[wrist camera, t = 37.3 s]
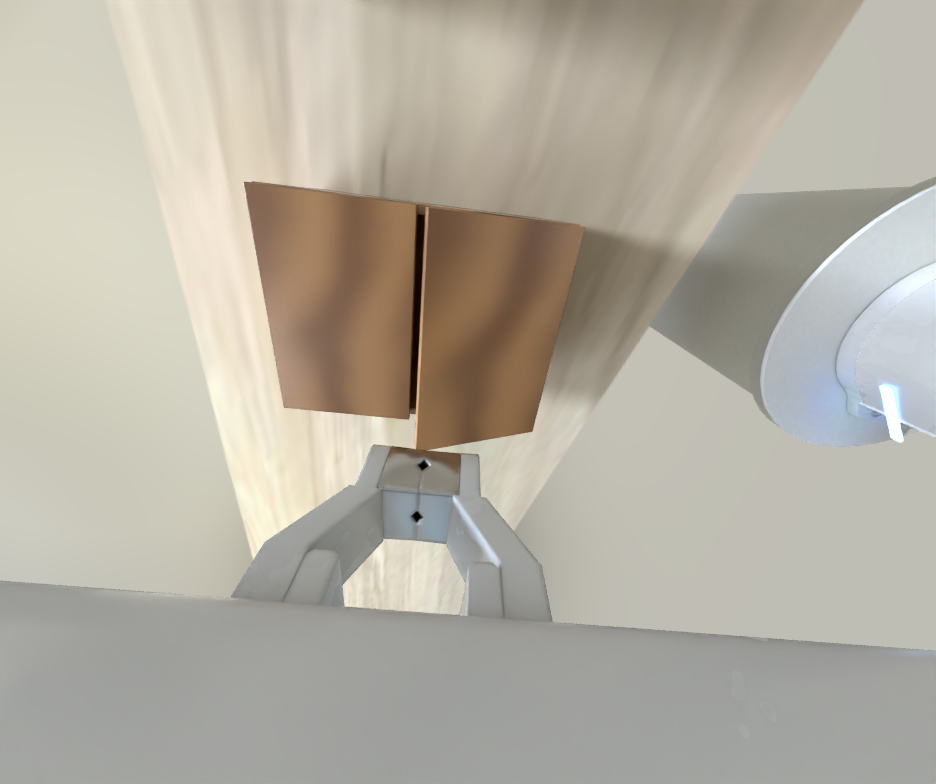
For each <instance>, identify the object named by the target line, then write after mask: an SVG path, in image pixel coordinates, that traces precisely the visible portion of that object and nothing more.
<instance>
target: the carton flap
mask: <svg viewBox="0 0 936 784" xmlns="http://www.w3.org/2000/svg"><path fill="white" fill-rule="evenodd" d="M584 229H585V227H582V226H575V225H567V224H559V223H551V222H543V221H535V220H527V219H519V218H511V217H503V216H495V215H487V214H479V213H472V212H464V211H456V210H448V209H440V208H432V207H426V211H425V232H424V253H423V274H422V295H421V316H420V337H419V358H418V378H417V399H416V420H415V441H414V449H419V450H430V449H436V448H442V447H448V446H453V445H459V444H465V443H470V442H476V441H482V440H487V439H493V438H499V437H504V436H510V435H516V434H522V433H527V432H532V431H533V427H534V423H535V419H536V415H537V411H538V407H539V403H540V400H541V396H542V392H543V388H544V384H545V380H546V376H547V372H548V369H549V365H550V361H551V357H552V353H553V349H554V345H555V342H556V338H557V334H558V330H559V326H560V322H561V318H562V314H563V311H564V307H565V303H566V299H567V295H568V291H569V287H570V283H571V280H572V276H573V272H574V268H575V264H576V260H577V256H578V252H579V249H580V245H581V241H582V237H583V233H584Z"/></svg>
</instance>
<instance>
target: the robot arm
mask: <svg viewBox="0 0 936 784" xmlns="http://www.w3.org/2000/svg"><path fill="white" fill-rule="evenodd" d="M836 374H837V378H838V381H839V383H840V384H841V386H842V387H843V388H844V390H845V391H846V393H847V412H848V414H849V415H852V416H854V417H856V418H859V419H877V418H887V422H888V427H889V432H890V436H891V438H893V439H894V440H896V441H898V442H902V441H903V437H902V432H901V427H900V422H901V423H903V424H906V425H908V426H910V427H912V428H915V429H917V430H919V431H922V432H924V433H926V434H928V435H931V436H933V437H935V438H936V262H935V263H932V264H930V265H927V266H925V267H923V268H921V269H919V270H917V271H915V272H913V273H912V274H910V275H908V276H906V277H905V278H903V279H901V280H900V281H898V282H897V283H896V284H894V285H893V286H891V287H890V288H889V289H887V290H886V291H885V292H884V293H882V294H881V295H880V296H879V297H878V298H876V299H875V300H874V301H873V302H872V303H871V304H870V305H869V306H868V307H867V308H866V309H865V310H864V311H863V312H862V314H861V315H860V316H859V317H858V318H857V320H856V321H855V322H854V323H853V325H852V326H851V328H850V329H849V331H848V332H847V334H846V336H845V338H844V339H843V341H842V344H841V346H840V349H839V351H838V355H837V360H836ZM383 539H400V540H416V541H425V542H434V543H443V544H447V547H448V549H449V551H450V553H451V555H452V557H453V559H454V561H455V563H456V565H457V567H458V569H459V571H460V573H461V575H462V577H463V579H464V581H465V583H466V584H465V589H464V594H463V599H462V604H461V610H460V615H450V614H436V613H423V612H409V611H396V610H383V609H369V608H356V607H345V606H344V597H343V588H342V585H343V584H344V583H345V582H346V580H347V579H348V578H349V577H350V576H351V575H352V574H353V573H354V572H355V571H356V570H357V569H358V567H359V566H360V565H361V564H362V563H363V562H364V561H365V560H366V559H367V558H368V557H369V556H370V554H371V553H372V552H373V551H374V550H375V549H376V548H377V547H378V546H379V545H380V544H381V543H382V541H383ZM0 784H936V651H933V650H920V649H906V648H893V647H880V646H866V645H851V644H839V643H838V644H837V643H825V642H812V641H798V640H784V639H772V638H758V637H744V636H732V635H718V634H705V633H691V632H678V631H665V630H652V629H638V628H625V627H612V626H598V625H585V624H571V623H557V622H553V621H552V616H551V611H550V607H549V601H548V595H547V590H546V585H545V580H544V575H543V570H542V566H541V564H540V563H539V562H538V561H537V559H536V558H535V557H534V556H533V555H532V553H531V552H530V551H529V550H528V549H527V547H526V546H525V545H524V544H523V542H522V541H521V540H520V539H519V538H518V536H517V535H516V534H515V533H514V531H513V530H512V529H511V528H510V527H509V525H508V524H507V523H506V522H505V520H504V519H503V518H502V517H501V516H500V514H499V513H498V512H497V511H496V509H495V508H494V507H493V506H492V505H491V503H490V502H489V501H488V500H487V498H483V497H481V493H480V462H479V455H478V454H464V453H461V454H459V453H448V452H437V451H427V450H419V449H411V448H402V447H394V446H392V447H391V446H383V445H375V444H374V445H373V446H372V447H371V449H370V451H369V454H368V456H367V458H366V461H365V463H364V465H363V468H362V470H361V473H360V475H359V477H358V480H357V482H356V484H355V486H352V485H349V486H348V487H346V488H345V489H343V490H342V491H340V492H339V493H337V494H336V495H334V496H333V497H331V498H330V499H328V500H327V501H325V502H324V503H322V504H321V505H319V506H318V507H316V508H315V509H313V510H312V511H310V512H309V513H307V514H306V515H304V516H303V517H301V518H300V519H298V520H297V521H295V522H294V523H293V524H291V525H290V526H288V527H287V528H285V529H284V530H282V531H281V532H279V533H278V534H276V535H275V536H273V537H272V538H270V539H269V540H267V541H266V542H265V543H264V544H263V546H262V547H261V549H260V551H259V552H258V554H257V555H256V557H255V559H254V560H253V562H252V563H251V565H250V567H249V568H248V570H247V571H246V573H245V575H244V576H243V578H242V579H241V581H240V583H239V584H238V586H237V587H236V589H235V591H234V592H233V594H232V596H231V597H230V598H223V597H209V596H196V595H183V594H168V593H156V592H143V591H129V590H115V589H103V588H88V587H76V586H63V585H49V584H35V583H23V582H10V581H0Z"/></svg>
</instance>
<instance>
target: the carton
mask: <svg viewBox="0 0 936 784" xmlns="http://www.w3.org/2000/svg"><path fill="white" fill-rule="evenodd" d="M244 188H245V194H246V199H247V205H248V210H249V216H250V221H251V227H252V233H253V238H254V244H255V249H256V255H257V260H258V266H259V271H260V277H261V283H262V288H263V294H264V299H265V305H266V310H267V316H268V322H269V327H270V333H271V338H272V344H273V349H274V355H275V361H276V366H277V372H278V377H279V383H280V388H281V394H282V399H283V405H284V408H293V409H304V410H314V411H325V412H335V413H345V414H356V415H366V416H377V417H387V418H397V419H409V417H410V414H416V399H417V378H418V358H419V337H420V316H421V295H422V274H423V253H424V232H425V211H426V207H432V208H440V209H448V210H456V211H464V212H472V213H479V214H487V215H495V216H503V217H511V218H519V219H527V220H535V221H543V222H551V223H559V224H567V225H575V226H580V225H577V224H571V223H565V222H559V221H553V220H547V219H541V218H533V217H526V216H518V215H511V214H503V213H496V212H488V211H481V210H473V209H466V208H458V207H451V206H443V205H436V204H428V203H420V202H413V201H405V200H398V199H390V198H383V197H375V196H368V195H360V194H353V193H345V192H338V191H330V190H323V189H314V188H305V187H297V186H288V185H279V184H271V183H262V182H253V181H252V182H244Z"/></svg>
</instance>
